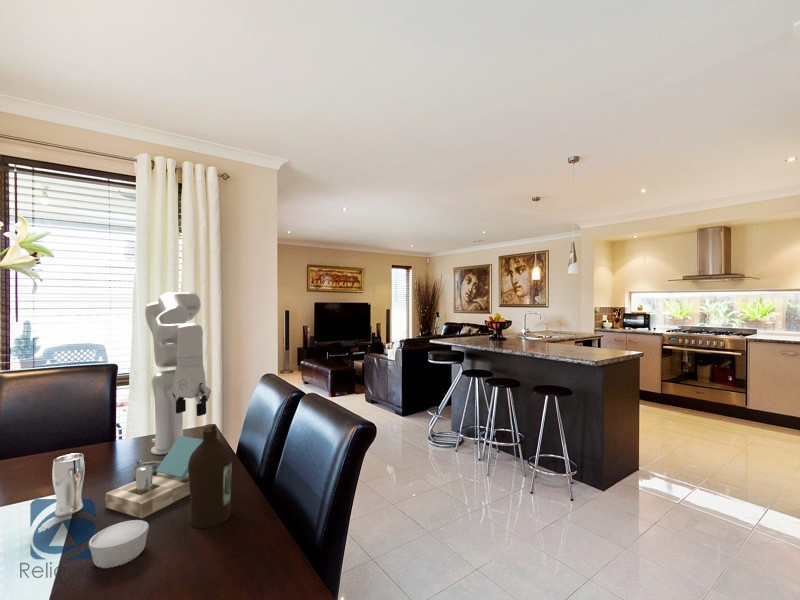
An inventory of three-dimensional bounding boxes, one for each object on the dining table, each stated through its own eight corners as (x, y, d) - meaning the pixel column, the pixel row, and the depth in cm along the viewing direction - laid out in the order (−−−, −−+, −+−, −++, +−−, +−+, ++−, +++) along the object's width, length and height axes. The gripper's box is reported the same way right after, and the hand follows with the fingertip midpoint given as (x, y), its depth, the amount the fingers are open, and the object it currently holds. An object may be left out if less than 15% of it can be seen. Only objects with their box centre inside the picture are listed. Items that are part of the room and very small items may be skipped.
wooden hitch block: (105, 507, 111) (105, 489, 111) (176, 475, 131) (176, 460, 131) (142, 518, 104) (142, 499, 105) (211, 483, 125) (210, 467, 125)
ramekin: (86, 556, 89) (85, 533, 89) (143, 535, 97) (142, 514, 97) (92, 580, 81) (92, 554, 81) (154, 555, 89) (153, 532, 89)
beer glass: (91, 505, 112) (90, 454, 112) (64, 518, 105) (63, 463, 105) (73, 503, 114) (72, 452, 114) (46, 515, 107) (45, 461, 107)
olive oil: (183, 533, 97) (182, 433, 98) (194, 511, 108) (193, 421, 108) (229, 526, 100) (227, 429, 100) (235, 505, 110) (234, 418, 111)
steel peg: (133, 504, 112) (132, 470, 112) (146, 498, 116) (146, 464, 116) (142, 507, 111) (141, 472, 111) (155, 500, 114) (155, 466, 114)
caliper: (134, 481, 128) (133, 462, 128) (132, 480, 129) (132, 461, 129) (194, 459, 145) (194, 443, 145) (192, 459, 146) (192, 442, 146)
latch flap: (157, 472, 123) (155, 470, 122) (181, 436, 131) (179, 435, 130) (183, 478, 118) (181, 476, 118) (207, 441, 126) (205, 439, 126)
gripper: (161, 362, 128) (162, 414, 128) (198, 364, 121) (199, 419, 121) (182, 359, 135) (183, 408, 135) (218, 361, 128) (219, 413, 128)
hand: (191, 413), depth 128 cm, fingers open, 9 cm apart
